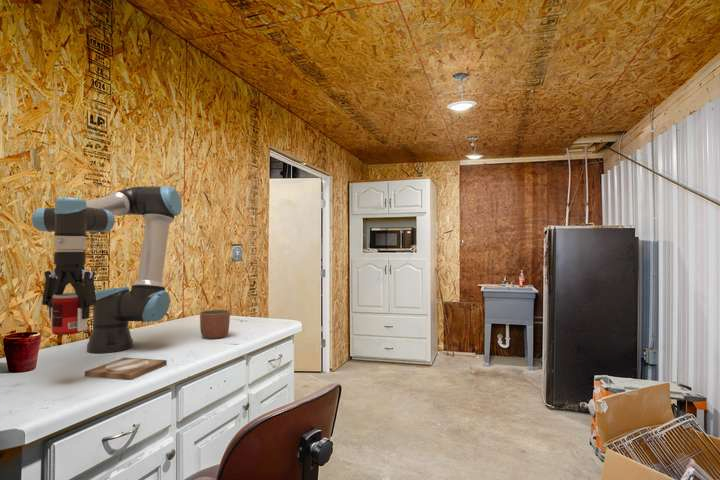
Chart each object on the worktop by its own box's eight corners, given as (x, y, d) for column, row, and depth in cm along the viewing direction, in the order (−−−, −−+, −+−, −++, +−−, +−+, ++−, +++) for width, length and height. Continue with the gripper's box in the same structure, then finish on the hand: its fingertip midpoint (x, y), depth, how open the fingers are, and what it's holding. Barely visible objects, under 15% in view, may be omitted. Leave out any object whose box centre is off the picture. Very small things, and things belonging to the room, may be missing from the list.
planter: (230, 338, 175) (231, 313, 175) (199, 341, 170) (200, 314, 170) (228, 333, 186) (229, 309, 186) (199, 335, 182) (199, 310, 182)
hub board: (84, 376, 123) (84, 370, 123) (124, 361, 139) (124, 356, 139) (131, 379, 120) (131, 373, 120) (166, 364, 136) (166, 358, 136)
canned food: (90, 329, 123) (90, 292, 123) (75, 335, 115) (75, 295, 115) (62, 329, 122) (63, 292, 122) (45, 335, 114) (46, 296, 114)
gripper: (26, 251, 116) (24, 331, 116) (93, 251, 114) (92, 333, 114) (48, 250, 123) (47, 326, 123) (112, 251, 121) (111, 328, 121)
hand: (69, 329), depth 118 cm, fingers closed on canned food, 8 cm apart
